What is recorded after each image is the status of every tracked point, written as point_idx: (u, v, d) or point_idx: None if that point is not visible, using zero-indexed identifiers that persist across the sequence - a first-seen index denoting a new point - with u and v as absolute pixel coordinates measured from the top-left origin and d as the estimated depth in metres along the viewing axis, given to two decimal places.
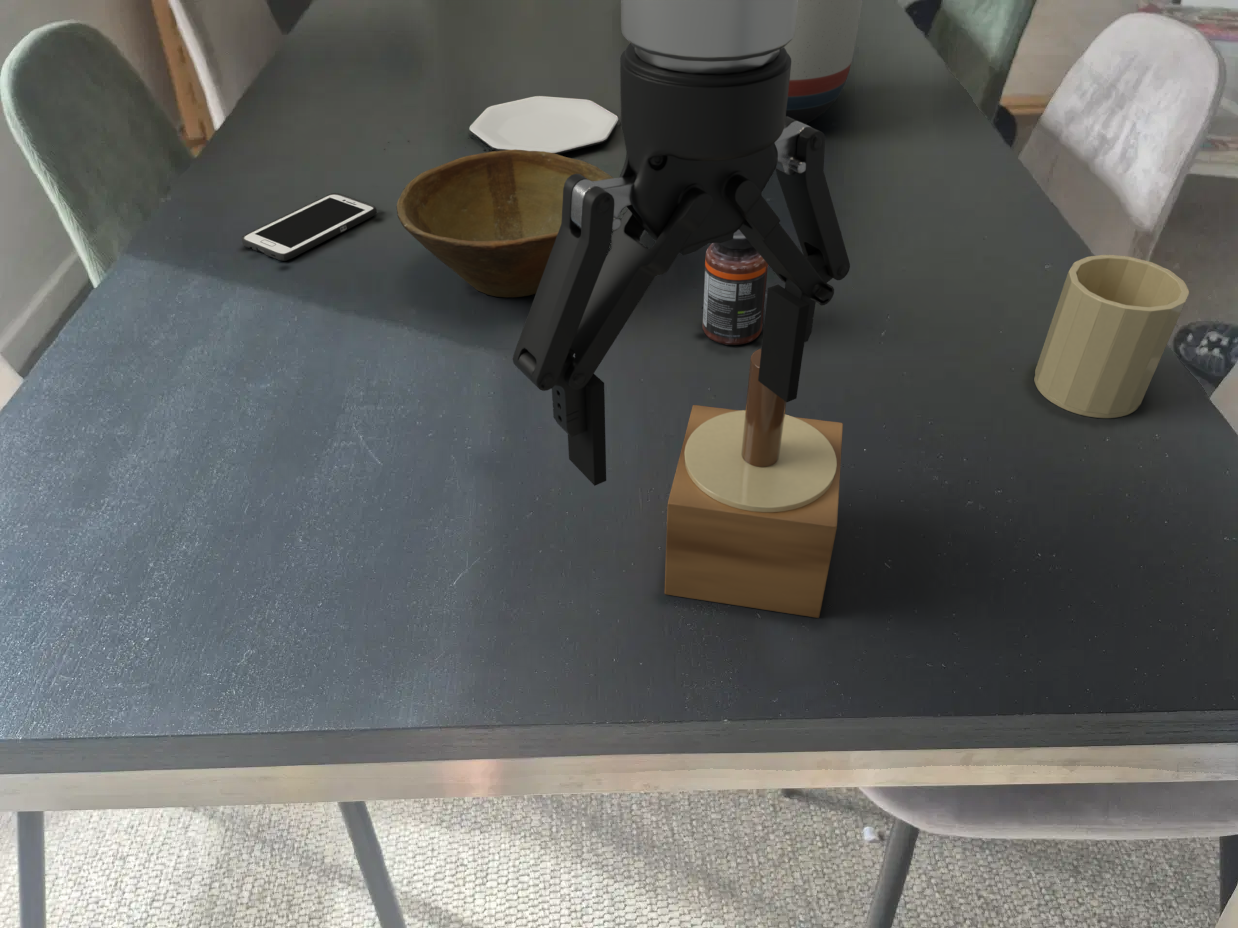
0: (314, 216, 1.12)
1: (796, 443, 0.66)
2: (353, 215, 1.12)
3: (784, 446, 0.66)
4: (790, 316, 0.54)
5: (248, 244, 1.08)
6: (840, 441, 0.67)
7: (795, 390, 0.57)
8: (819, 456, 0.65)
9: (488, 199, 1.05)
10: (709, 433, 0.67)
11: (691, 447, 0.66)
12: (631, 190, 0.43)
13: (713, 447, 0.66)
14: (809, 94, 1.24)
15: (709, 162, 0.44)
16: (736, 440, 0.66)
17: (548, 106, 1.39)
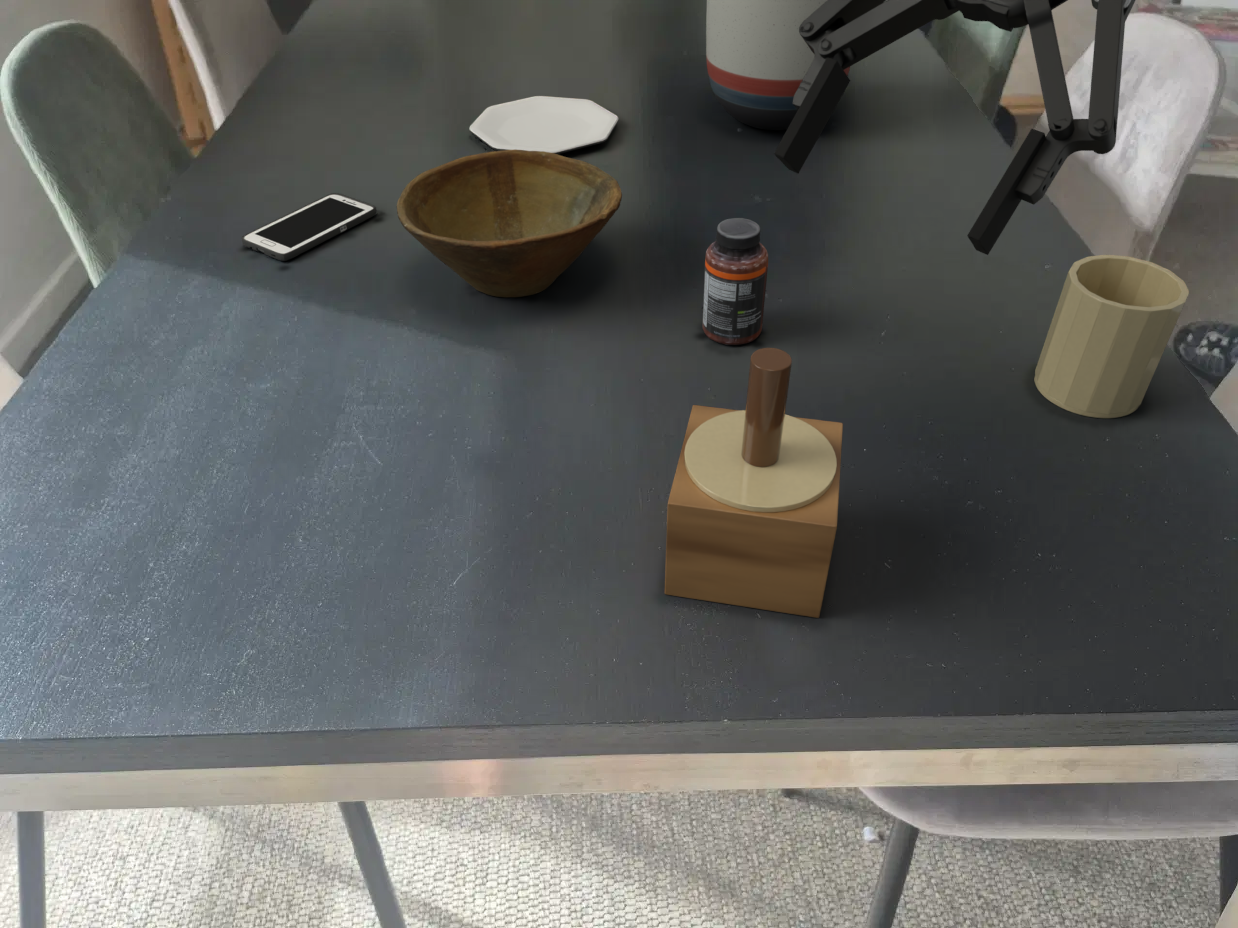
0: (314, 216, 1.12)
1: (796, 443, 0.66)
2: (353, 215, 1.12)
3: (784, 446, 0.66)
4: None
5: (248, 244, 1.08)
6: (840, 441, 0.67)
7: (982, 228, 0.53)
8: (819, 456, 0.65)
9: (488, 199, 1.05)
10: (709, 433, 0.67)
11: (691, 447, 0.66)
12: None
13: (713, 447, 0.66)
14: None
15: None
16: (736, 440, 0.66)
17: (548, 106, 1.39)
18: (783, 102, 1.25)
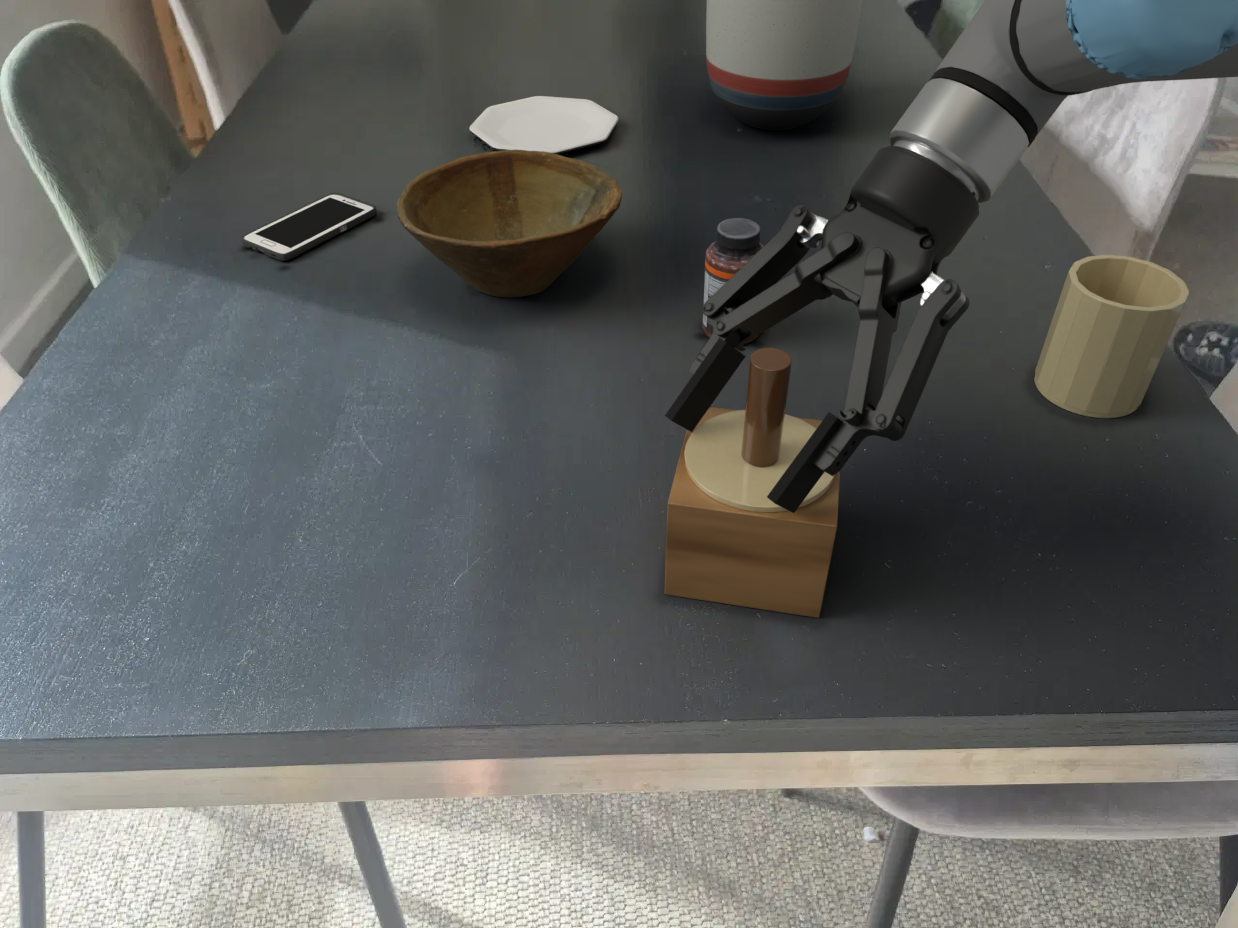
0: (314, 216, 1.12)
1: (796, 443, 0.66)
2: (353, 215, 1.12)
3: (784, 446, 0.66)
4: None
5: (248, 244, 1.08)
6: None
7: (778, 493, 0.59)
8: None
9: (488, 199, 1.05)
10: (709, 433, 0.67)
11: (691, 447, 0.66)
12: (829, 220, 0.63)
13: (713, 447, 0.66)
14: (809, 93, 1.24)
15: (876, 231, 0.60)
16: (736, 440, 0.66)
17: (548, 106, 1.39)
18: (783, 102, 1.25)
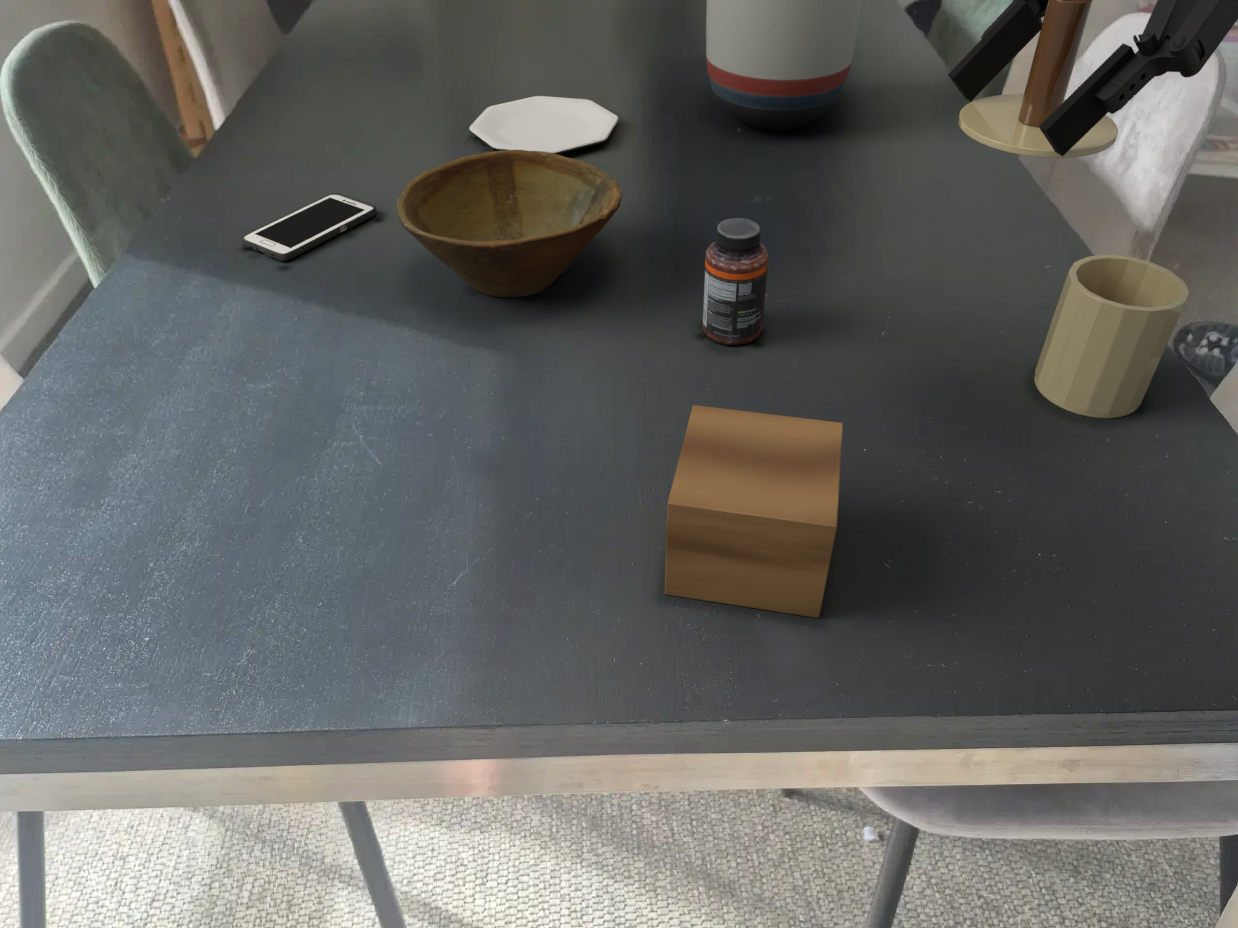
0: (314, 216, 1.12)
1: None
2: (353, 215, 1.12)
3: None
4: None
5: (248, 244, 1.08)
6: (840, 441, 0.67)
7: (1052, 121, 0.60)
8: (1100, 127, 0.65)
9: (488, 199, 1.05)
10: (988, 104, 0.68)
11: (968, 109, 0.68)
12: None
13: (990, 111, 0.67)
14: (809, 94, 1.24)
15: None
16: (1015, 110, 0.67)
17: (548, 106, 1.39)
18: (783, 102, 1.25)
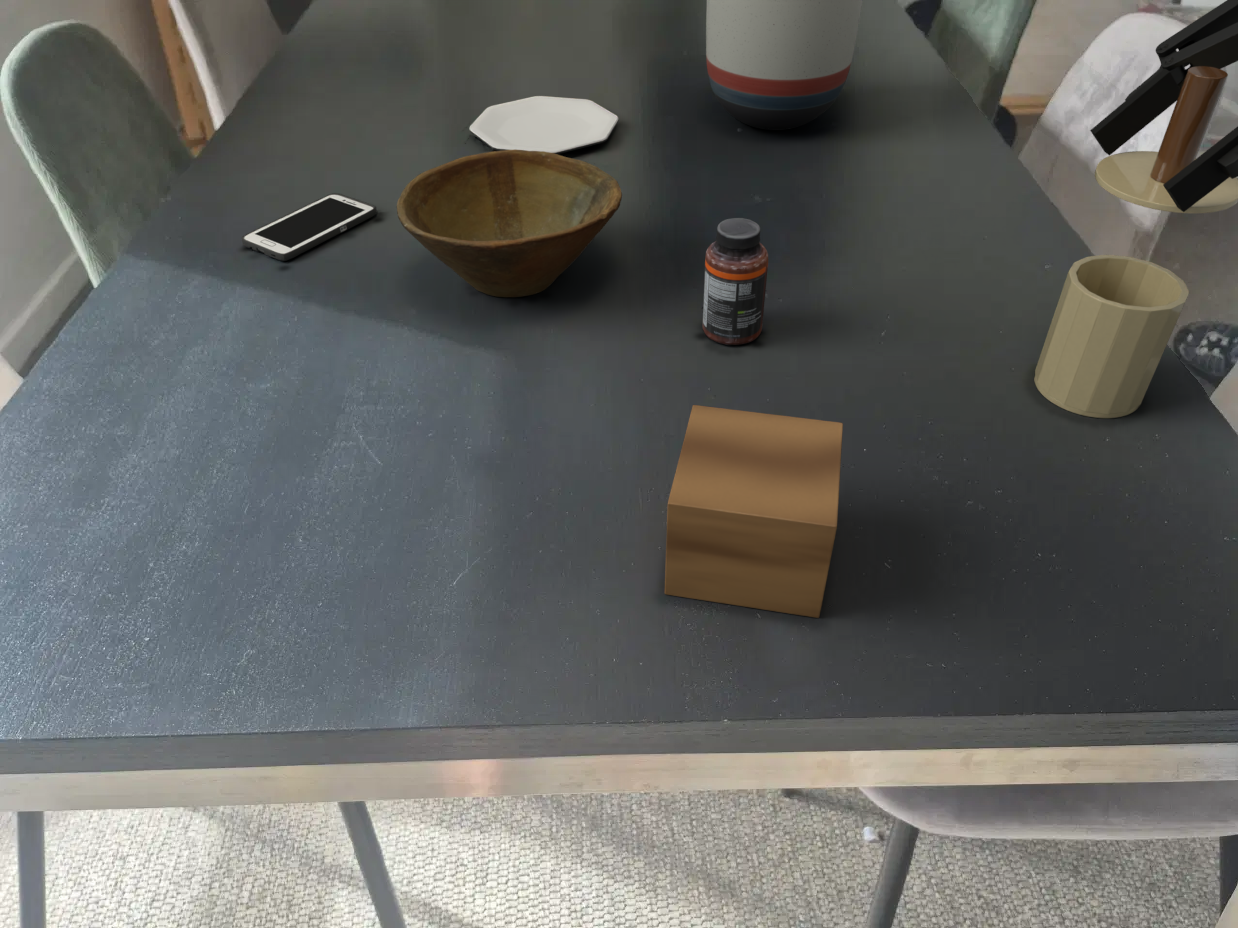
0: (314, 216, 1.12)
1: None
2: (353, 215, 1.12)
3: None
4: None
5: (248, 244, 1.08)
6: (840, 441, 0.67)
7: (1175, 181, 0.68)
8: (1226, 188, 0.72)
9: (488, 199, 1.05)
10: (1125, 158, 0.77)
11: (1105, 162, 0.76)
12: None
13: (1125, 166, 0.75)
14: (809, 93, 1.24)
15: None
16: (1149, 166, 0.75)
17: (548, 106, 1.39)
18: (783, 102, 1.25)
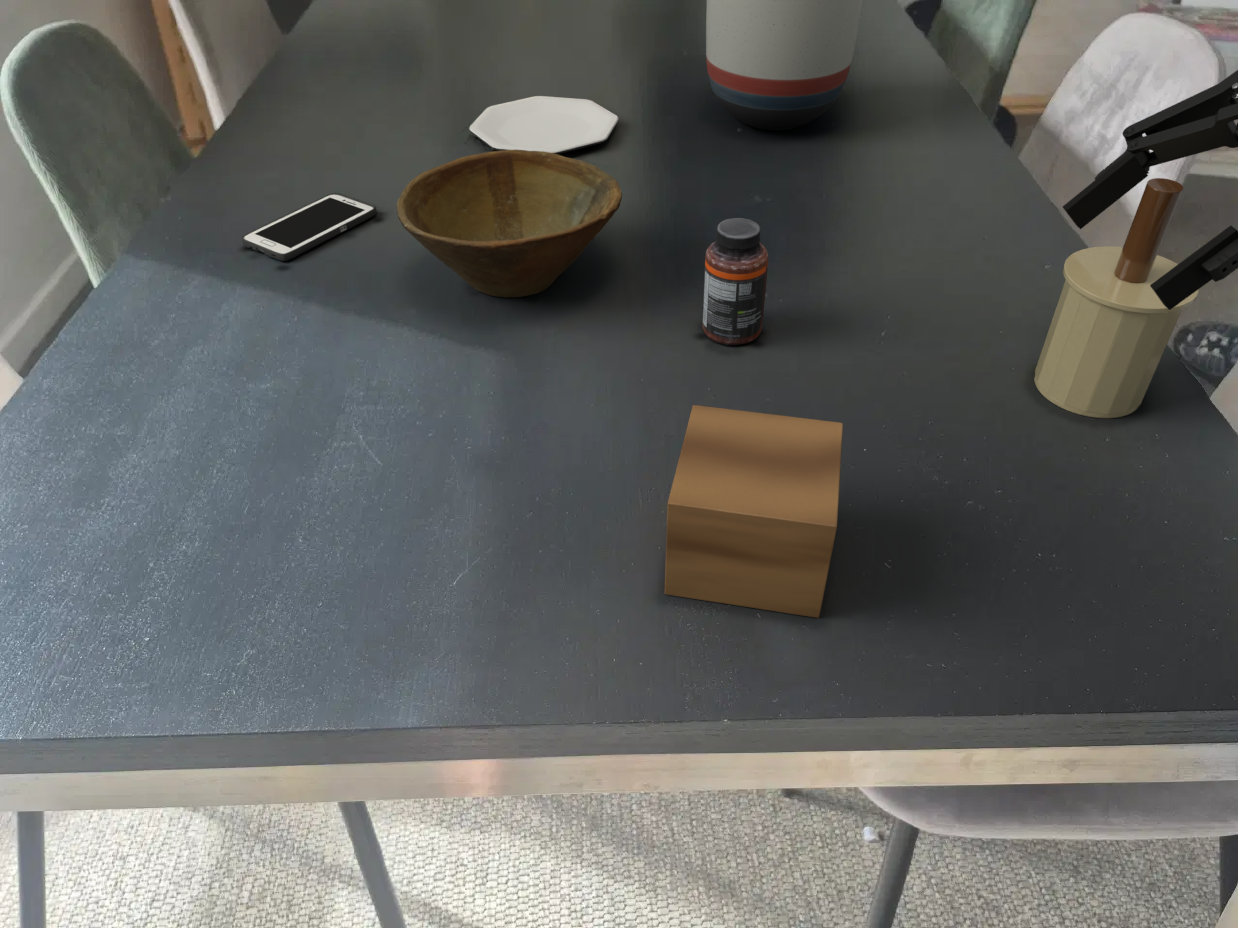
0: (314, 216, 1.12)
1: None
2: (353, 215, 1.12)
3: (1154, 275, 0.79)
4: None
5: (248, 244, 1.08)
6: (840, 441, 0.67)
7: (1162, 283, 0.71)
8: None
9: (488, 199, 1.05)
10: (1092, 254, 0.82)
11: (1073, 258, 0.82)
12: None
13: (1091, 262, 0.81)
14: (809, 93, 1.24)
15: None
16: (1113, 263, 0.81)
17: (548, 106, 1.39)
18: (783, 102, 1.25)
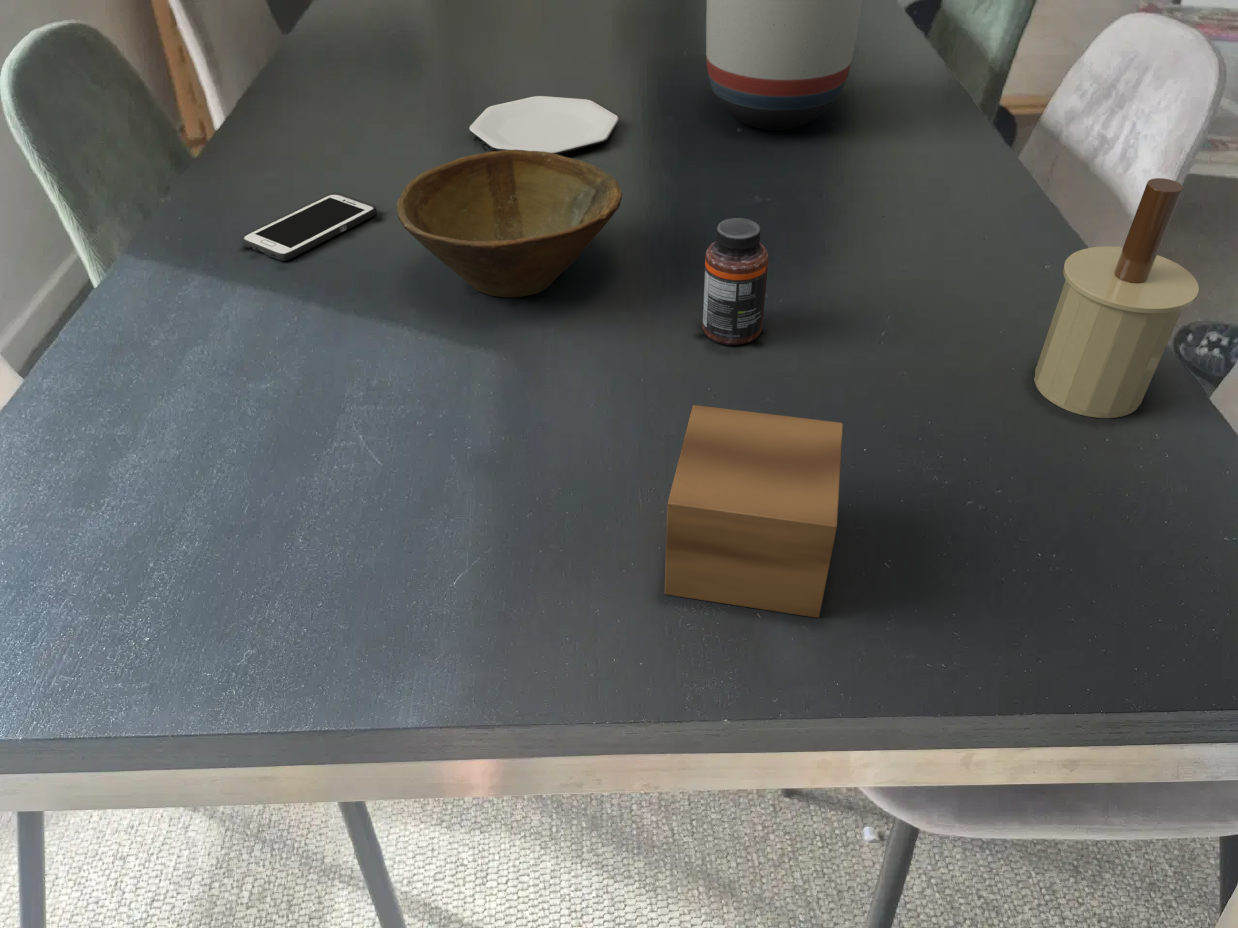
0: (314, 216, 1.12)
1: (1166, 276, 0.79)
2: (353, 215, 1.12)
3: (1154, 275, 0.79)
4: None
5: (248, 244, 1.08)
6: (840, 441, 0.67)
7: None
8: (1183, 288, 0.78)
9: (488, 199, 1.05)
10: (1092, 254, 0.82)
11: (1073, 258, 0.82)
12: None
13: (1091, 262, 0.81)
14: (809, 93, 1.24)
15: None
16: (1113, 263, 0.81)
17: (548, 106, 1.39)
18: (783, 102, 1.25)
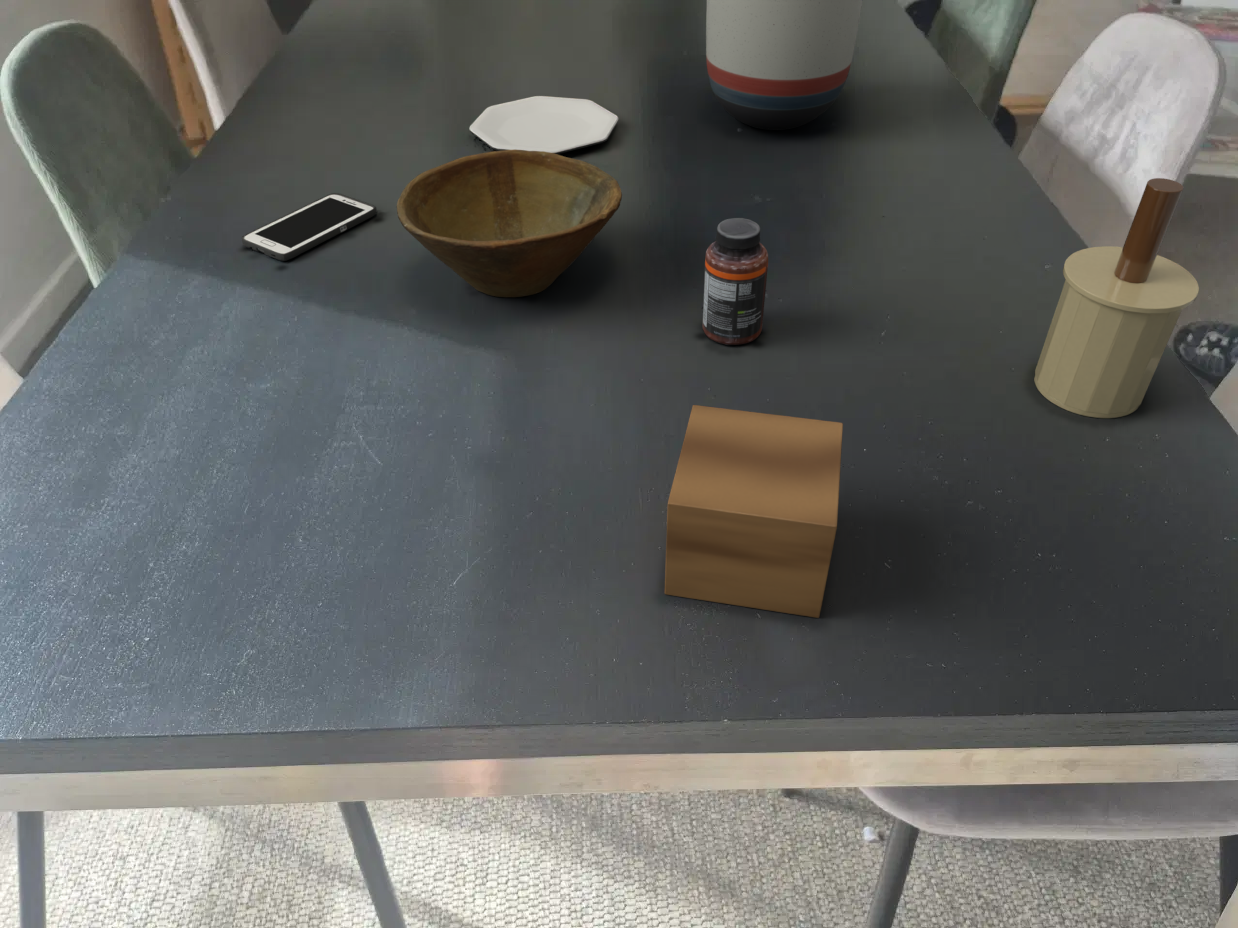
0: (314, 216, 1.12)
1: (1166, 276, 0.79)
2: (353, 215, 1.12)
3: (1154, 275, 0.79)
4: None
5: (248, 244, 1.08)
6: (840, 441, 0.67)
7: None
8: (1183, 288, 0.78)
9: (488, 199, 1.05)
10: (1092, 254, 0.82)
11: (1073, 258, 0.82)
12: None
13: (1091, 262, 0.81)
14: (809, 93, 1.24)
15: None
16: (1113, 263, 0.81)
17: (548, 106, 1.39)
18: (783, 102, 1.25)
